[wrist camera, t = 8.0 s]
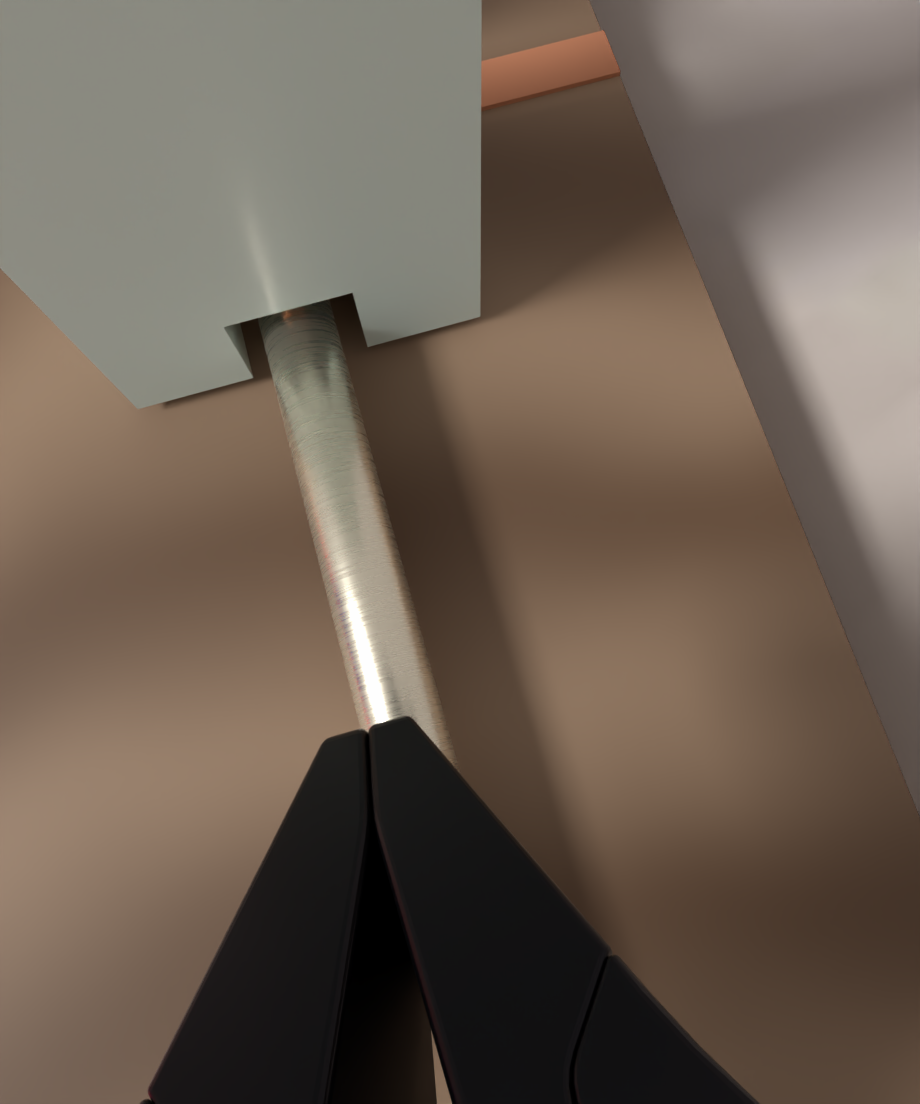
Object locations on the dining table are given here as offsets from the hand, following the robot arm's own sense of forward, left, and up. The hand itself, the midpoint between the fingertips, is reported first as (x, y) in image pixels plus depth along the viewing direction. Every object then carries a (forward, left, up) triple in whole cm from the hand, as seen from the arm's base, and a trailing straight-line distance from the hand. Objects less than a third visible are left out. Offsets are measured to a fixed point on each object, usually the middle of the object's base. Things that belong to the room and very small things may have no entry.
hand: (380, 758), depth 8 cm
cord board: (+3, -1, -6) cm, 7 cm away
